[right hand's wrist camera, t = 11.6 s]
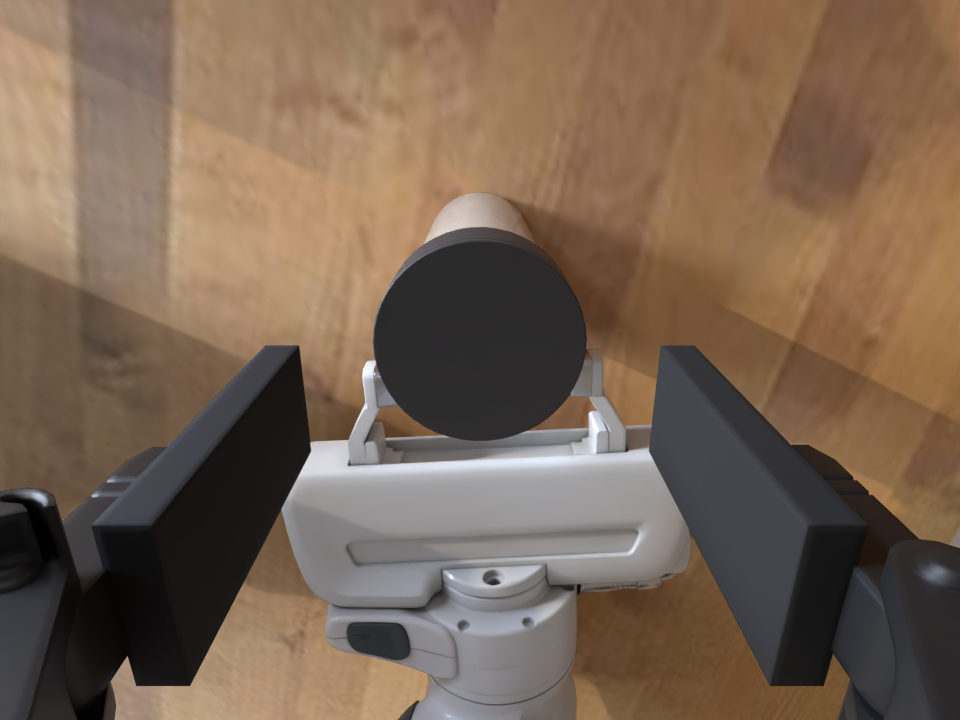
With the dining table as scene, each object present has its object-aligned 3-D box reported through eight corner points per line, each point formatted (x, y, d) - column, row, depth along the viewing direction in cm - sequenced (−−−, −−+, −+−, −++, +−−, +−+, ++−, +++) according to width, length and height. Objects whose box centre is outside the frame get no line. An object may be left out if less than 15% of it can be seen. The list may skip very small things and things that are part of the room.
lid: (505, 438, 21) (509, 474, 19) (351, 348, 20) (335, 376, 18) (613, 294, 19) (630, 317, 17) (449, 186, 18) (444, 195, 16)
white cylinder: (494, 312, 33) (505, 453, 19) (410, 259, 32) (354, 367, 18) (550, 229, 32) (609, 316, 17) (464, 171, 31) (450, 212, 16)
